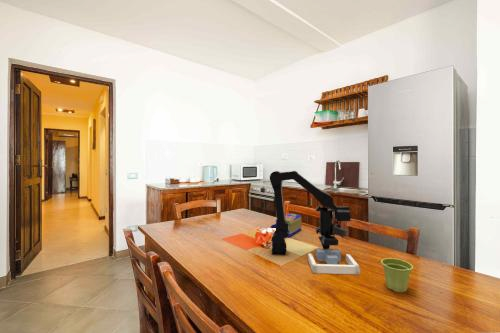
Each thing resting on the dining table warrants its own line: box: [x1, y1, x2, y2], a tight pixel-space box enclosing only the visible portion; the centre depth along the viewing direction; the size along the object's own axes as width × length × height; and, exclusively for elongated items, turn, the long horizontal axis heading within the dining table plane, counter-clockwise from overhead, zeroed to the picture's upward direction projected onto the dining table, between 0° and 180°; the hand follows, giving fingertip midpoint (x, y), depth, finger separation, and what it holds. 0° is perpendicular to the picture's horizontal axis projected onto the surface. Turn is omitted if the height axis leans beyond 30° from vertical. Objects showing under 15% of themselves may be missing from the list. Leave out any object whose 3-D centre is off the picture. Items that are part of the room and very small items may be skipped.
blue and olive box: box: [270, 213, 303, 238], centre depth 148 cm, size 10×25×10 cm, turn 145°
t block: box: [315, 248, 342, 265], centre depth 106 cm, size 10×10×4 cm
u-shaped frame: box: [307, 253, 361, 275], centre depth 102 cm, size 18×12×3 cm
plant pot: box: [380, 257, 414, 293], centre depth 84 cm, size 9×9×9 cm
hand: (326, 253), depth 113 cm, fingers closed
